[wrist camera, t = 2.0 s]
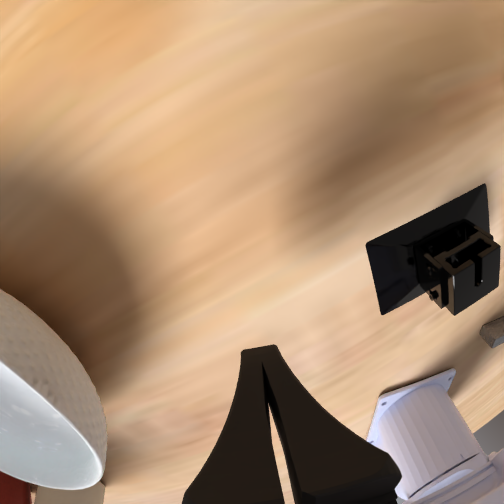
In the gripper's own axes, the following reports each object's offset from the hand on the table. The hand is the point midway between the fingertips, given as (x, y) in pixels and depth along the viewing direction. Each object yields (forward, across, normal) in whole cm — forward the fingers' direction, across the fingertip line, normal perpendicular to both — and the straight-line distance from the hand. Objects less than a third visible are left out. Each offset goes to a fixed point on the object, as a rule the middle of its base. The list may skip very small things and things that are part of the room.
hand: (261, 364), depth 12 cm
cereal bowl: (+5, +17, +2) cm, 18 cm away
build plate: (+6, -12, 0) cm, 13 cm away
